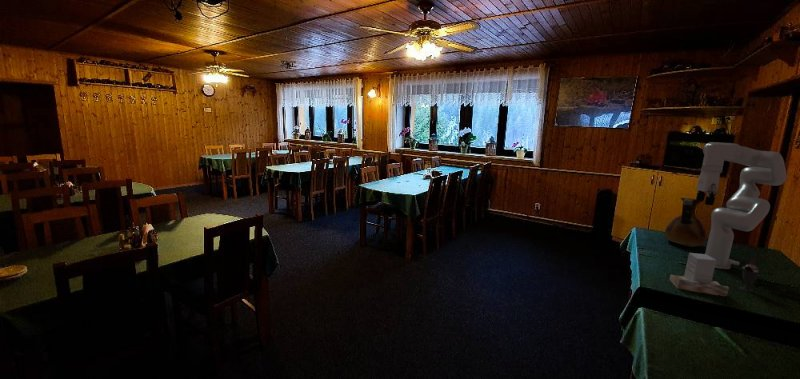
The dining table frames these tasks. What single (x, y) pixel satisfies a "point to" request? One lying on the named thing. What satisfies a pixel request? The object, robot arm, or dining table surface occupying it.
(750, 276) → the sundae
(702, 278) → the supplement box
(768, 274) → the dining table surface
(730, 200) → the robot arm
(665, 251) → the dining table surface
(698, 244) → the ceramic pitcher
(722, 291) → the display board
